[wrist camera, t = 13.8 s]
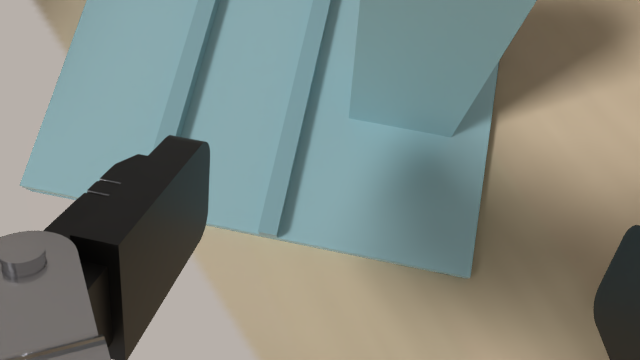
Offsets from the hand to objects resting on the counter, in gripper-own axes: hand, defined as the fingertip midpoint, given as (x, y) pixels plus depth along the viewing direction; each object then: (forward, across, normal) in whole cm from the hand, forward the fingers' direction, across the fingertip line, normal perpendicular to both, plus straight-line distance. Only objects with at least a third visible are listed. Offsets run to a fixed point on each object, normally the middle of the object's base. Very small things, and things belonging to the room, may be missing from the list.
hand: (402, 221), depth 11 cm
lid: (+10, +4, +1) cm, 11 cm away
